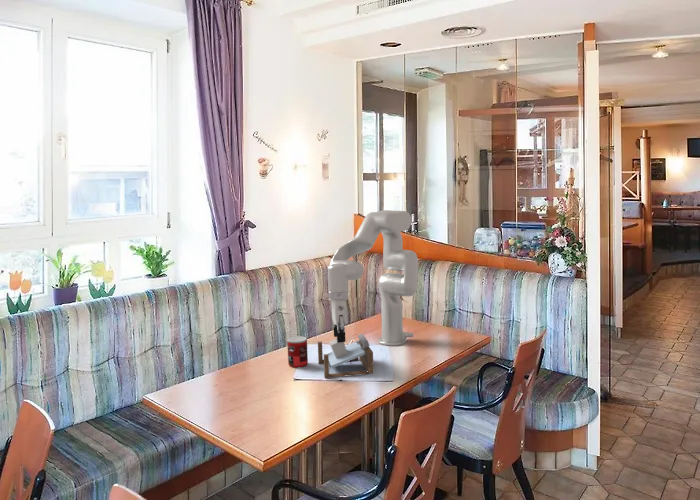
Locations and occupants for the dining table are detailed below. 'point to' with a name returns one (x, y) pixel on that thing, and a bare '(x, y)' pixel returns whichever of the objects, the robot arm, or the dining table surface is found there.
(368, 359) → the frame
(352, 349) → the trapdoor
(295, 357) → the canned food
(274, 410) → the dining table surface
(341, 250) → the robot arm
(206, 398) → the dining table surface
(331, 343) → the light grey block
